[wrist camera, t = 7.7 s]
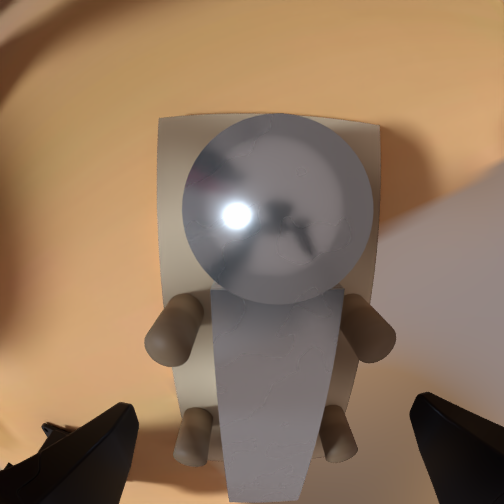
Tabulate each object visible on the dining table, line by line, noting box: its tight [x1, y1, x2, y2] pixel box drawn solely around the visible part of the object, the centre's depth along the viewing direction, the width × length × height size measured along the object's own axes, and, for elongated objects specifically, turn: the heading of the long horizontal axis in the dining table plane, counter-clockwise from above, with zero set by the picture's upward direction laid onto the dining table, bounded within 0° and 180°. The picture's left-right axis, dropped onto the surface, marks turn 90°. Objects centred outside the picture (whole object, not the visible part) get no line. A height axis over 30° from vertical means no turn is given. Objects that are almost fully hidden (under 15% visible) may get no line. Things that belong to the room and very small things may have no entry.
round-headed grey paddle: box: [182, 113, 373, 502], centre depth 10 cm, size 16×5×4 cm, turn 0°
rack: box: [145, 114, 396, 467], centre depth 11 cm, size 19×9×4 cm, turn 0°
